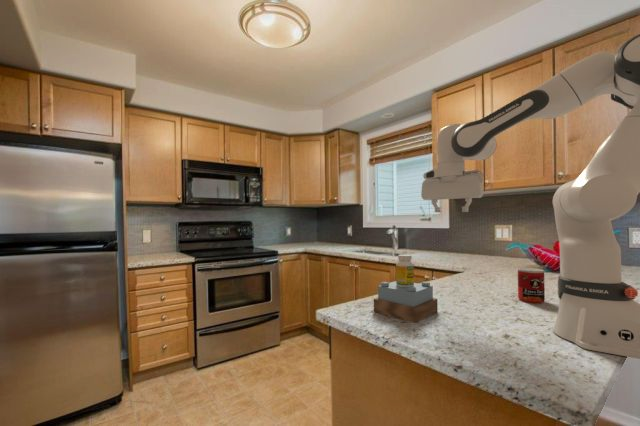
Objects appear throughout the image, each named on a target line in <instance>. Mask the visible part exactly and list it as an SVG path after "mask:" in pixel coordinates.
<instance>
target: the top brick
mask: <svg viewBox="0 0 640 426" xmlns="http://www.w3.org/2000/svg"><path fill="white" fill-rule="evenodd" d="M377 291H378V292H377V298H378V299H381V300H385V301H390V302H394V303H398V304H403V305H407V306H412V307H415V306H417V305H420V304H422V303H424V302H427V301H429V300H431V299H433V298H434V289H433V285H431V282H429V281H422V282H421V283H418V282H414V286H413V287H407V288H405V287H399V286H397V284H396V280H394V281H391V282H387V281H381V282H380V285H378V286H377Z"/></svg>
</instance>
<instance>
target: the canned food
mask: <svg viewBox="0 0 640 426" xmlns="http://www.w3.org/2000/svg"><path fill="white" fill-rule="evenodd" d="M545 287H546V286H545V270H544V269H541V268H538V267H537V268H536V267H518V268H517V297H518V300H519V301H521V302H523V303H529V304H543V303H544V302H545V300H546V299H545V296H546V295H545V292H546V291H545Z"/></svg>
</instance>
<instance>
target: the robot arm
mask: <svg viewBox="0 0 640 426" xmlns="http://www.w3.org/2000/svg"><path fill="white" fill-rule="evenodd" d="M603 95H610V100H612V101H614V102H616V103H618V104H621V105H622V106H624V107H625V108H628V110H629V109H630V111H629V112H628V113H627V114H626V115H625V116H624V118H623V119H622V120H621V121H620V122H619V123H618V125H617V126H616V127H615V128H614V129H613V130H612V132H611V133H610V134H609V135H608V136H607V137H606V139H605V140H603V142H602V143H601V144H600V145H599V147H598V148H597V151H596V153H594V155H593V157H592V158H591V160H590V161H589V163H588V164H587V165H586V167H585V168H584V170H583V171H582V172H581V174H579V175H578V177H575V178H574V179H573V180H570V181H567V182H566V183H563V184H562V185H560V186H559V188H557V189H556V191H555V193H554V194H553V196H552V206H553V212H554V213H553V214H554V220H555V228H556V234H557V237H558V245H559V270H560V271H559V276H558V278H557V295H558V299H559V303H558V310H557V316H556V319H555V323H554V326H553V329H552V332H553V333H554V334H555V335H557V336H558V337H560V338H563V339H564V340H566V341H569V342H572V343H574V344H576V345H577V346H579V347H580V348H582V349H585V350H589V351H595V352H600V353H606V354H610V355H611V354H612V355H617V356H621V357H622V356H623V357H627V358H633V359H638V360H640V303H639V302H638V301H636V300H635V298H637V297H638V296H639V295H638V294H639V292H638V290H637V289H636V288H635V287H633V286H632V285H630V284H627V283H626V282H623V281H622V249H621V246H620V244H619V243H618V241H617V238H616V236H615V232H614V229H613V225H612V221H614V220H616V219H618V218H620V217H622V216H624V215H625V214H628V213H629V212H630V211H631V210H632V209H633V208H634V207H635V205H636V202H637V199H638V196H639V195H640V33H639V34H637V35H634V36H633V37H630V39H628V40H627V41H625V43H624V44H622V45H621V46H620V48H619V49H618V51H617V52H616V53H613V52H611V51H607V50H603V51H602V50H601V51H598V52H596V53H592V54H590V55H589V56H586V57H585V58H583V59H580V60H578V61H577V62H575V63H573V64H571V65H570V66H567V67H566V68H564V69H563V70H562V71H560V72H558V73H557V74H555V75H553V76H552V77H551V78H549V79H547V80H546V81H544V82H542V83H541V84H540V85H538V86H537V87H535V88H533V89H531V90H530V91H528V92H526V94H524V95H521V96H519V97H518V98H516V99H513V100H512V101H510V102H508V103H507V104H505V105H503V106H502V107H499V109H497V110H495V111H493V112H491V113H490V114H488V115H486V116H485V117H482V118H481V119H477V120H474V121H469V122H466V123H464V124H460V123H451V124H449V125H446V126H444V127H442V128H440V130H439V132H438V135H437V139H436V140H437V141H436V155H437V162H436V167H435V168H433V169H431V170H429V171H426V172H425V173H423V179H424V180H423V182H422V184H421V195H420V196H421V199H422V200H424V201H431V204H432V206H433V208H434V213H441V211H442V210H441V209H442V208H441V207H440V206H439V205H438V204H437V203H439V202H438V200H457V199H460V200H461V199H465V200H464V201H465V202H466V203H465V204H464V206H461V212H463V213H468V212H469V208H470V205H471V204H472V202H473V199H481V198H482V197H483V196H484V193H485V192H484V191H485V190H484V184H483V181H484V173H483V172H482V171H481V170H478V169H474V170H473V169H472V170H466V169H465V161H467V160H468V161H484V160H487V159H489V158H490V157H492V156H493V154H494V153H495V151H496V150H497V146H498V145H497V140H496V138H495V137H497V136H498V135H501V134H502V133H503V132H505V131H508V130H509V129H511V128H513V127H515V126H516V125H518V124H521V123H522V122H525V121H529V120H533V119H534V120H535V119H543V120H553V119H556V118H560V117H562V116H564V115H567V114H569V113H571V112H573V111H575V110H576V109H578V108H579V107H581V106H584V105H585V104H587V103H588V102H590V101H591V100H594V99H595V98H597V97H599V96H603Z"/></svg>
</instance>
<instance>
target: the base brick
mask: <svg viewBox="0 0 640 426" xmlns="http://www.w3.org/2000/svg"><path fill="white" fill-rule="evenodd" d="M438 310H439V309H438V298H437V297H436V298H435V297H433V299H431V300H429V301H427V302H424V303H422V304H420V305H417V306H415V307H412V306H407V305H403V304H398V303H394V302H390V301H385V300H381V299H378V297H376V298H373V312H374V313H377V314H380V315H385V316H388V317H393V318H396V319H398V320H403V321H405V322H411V323H414V324H416V323H418V322H420V321H423V320H424V319H427V318H429V317H430V316H432V315H434V314H436V313H438Z"/></svg>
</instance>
